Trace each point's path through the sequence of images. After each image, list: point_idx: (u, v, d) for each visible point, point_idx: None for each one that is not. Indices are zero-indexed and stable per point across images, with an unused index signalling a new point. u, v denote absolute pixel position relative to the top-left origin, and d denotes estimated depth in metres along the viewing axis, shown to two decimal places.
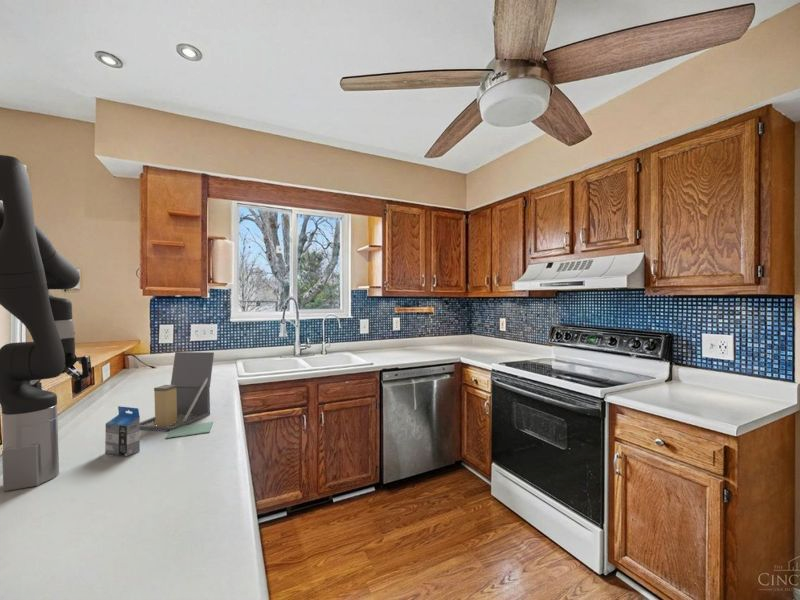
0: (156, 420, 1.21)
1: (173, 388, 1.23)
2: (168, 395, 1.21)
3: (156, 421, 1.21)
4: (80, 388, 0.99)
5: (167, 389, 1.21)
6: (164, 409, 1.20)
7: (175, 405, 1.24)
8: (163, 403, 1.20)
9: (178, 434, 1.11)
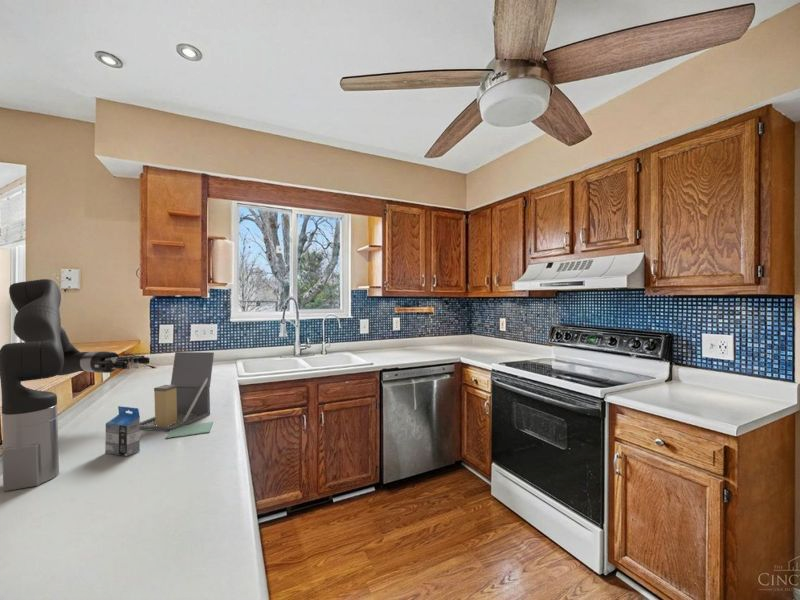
0: (156, 420, 1.21)
1: (173, 388, 1.23)
2: (168, 395, 1.21)
3: (156, 421, 1.21)
4: None
5: (167, 389, 1.21)
6: (164, 409, 1.20)
7: (175, 405, 1.24)
8: (163, 403, 1.20)
9: (178, 434, 1.11)
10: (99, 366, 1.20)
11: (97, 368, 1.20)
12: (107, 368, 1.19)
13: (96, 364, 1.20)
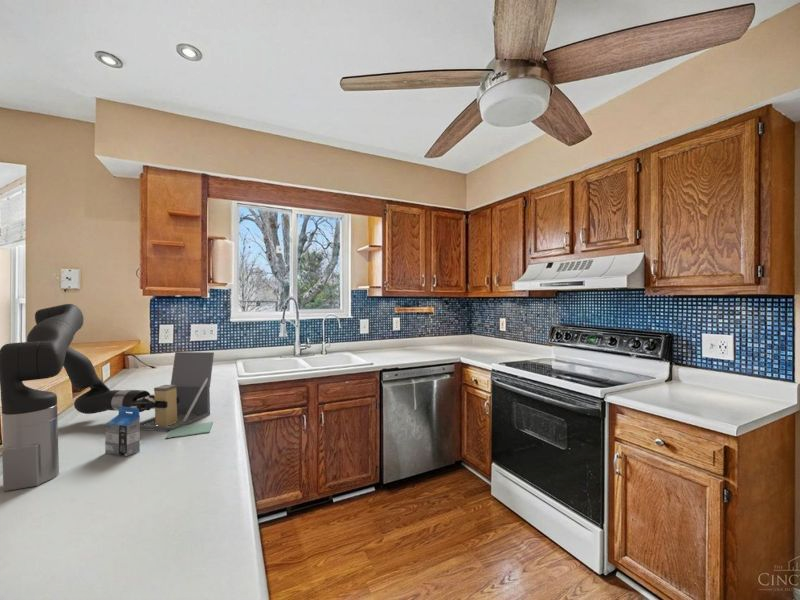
0: (156, 420, 1.21)
1: (173, 388, 1.23)
2: (168, 395, 1.21)
3: (156, 421, 1.21)
4: None
5: (167, 389, 1.21)
6: (165, 408, 1.20)
7: (175, 405, 1.24)
8: None
9: (178, 434, 1.11)
10: (138, 407, 1.18)
11: None
12: (148, 408, 1.18)
13: (133, 405, 1.18)
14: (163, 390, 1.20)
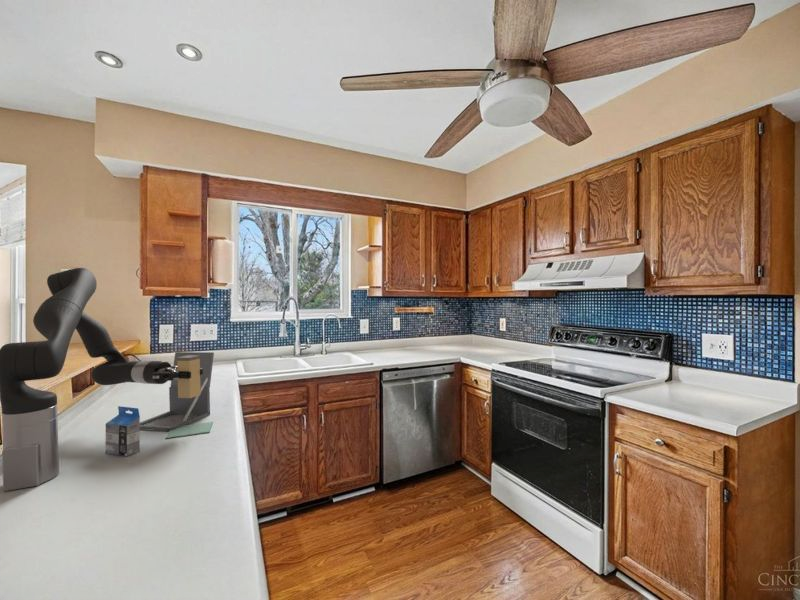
0: (179, 391, 1.14)
1: (197, 358, 1.16)
2: (192, 365, 1.15)
3: (179, 393, 1.14)
4: (200, 369, 1.19)
5: (191, 359, 1.14)
6: (188, 379, 1.13)
7: (198, 376, 1.17)
8: None
9: (178, 434, 1.11)
10: (160, 377, 1.11)
11: (157, 379, 1.11)
12: (171, 378, 1.11)
13: (156, 375, 1.11)
14: (187, 360, 1.13)
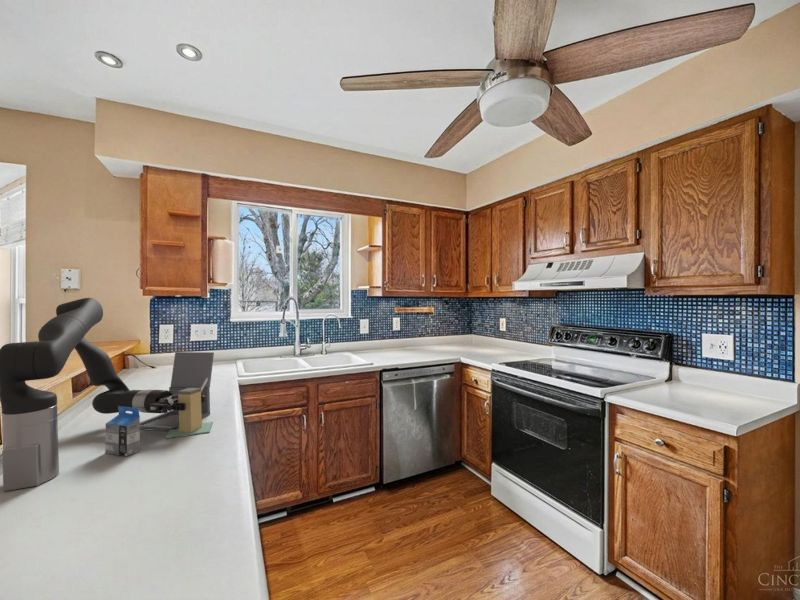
0: (180, 425, 1.14)
1: (198, 391, 1.16)
2: (193, 399, 1.15)
3: (180, 426, 1.14)
4: None
5: (192, 392, 1.14)
6: (189, 413, 1.13)
7: (200, 409, 1.17)
8: (187, 407, 1.14)
9: (178, 434, 1.11)
10: (156, 408, 1.10)
11: (153, 411, 1.11)
12: (165, 411, 1.10)
13: (152, 406, 1.11)
14: (188, 393, 1.13)
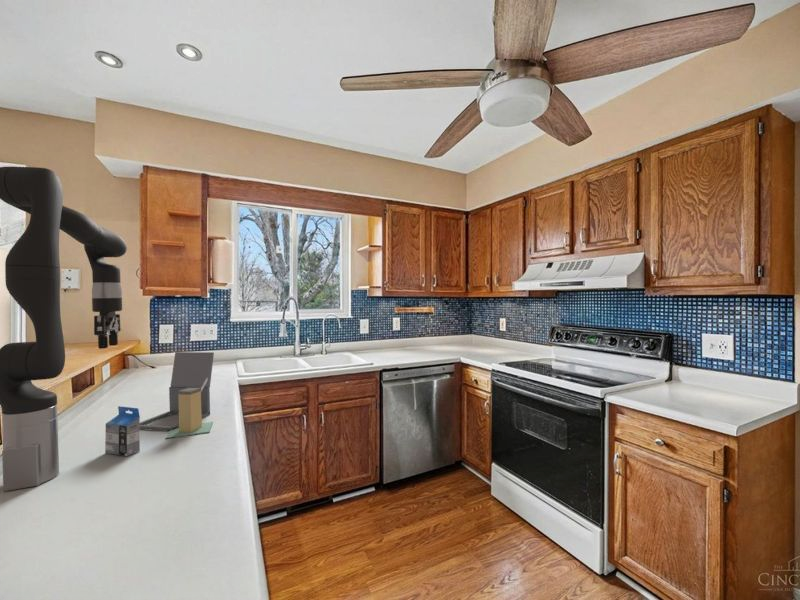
0: (180, 425, 1.14)
1: (198, 391, 1.16)
2: (193, 399, 1.15)
3: (180, 426, 1.14)
4: None
5: (192, 392, 1.14)
6: (189, 413, 1.13)
7: (200, 409, 1.17)
8: (187, 407, 1.14)
9: (178, 434, 1.11)
10: (98, 323, 1.09)
11: (95, 320, 1.08)
12: (96, 334, 1.09)
13: (101, 319, 1.09)
14: (188, 393, 1.13)
